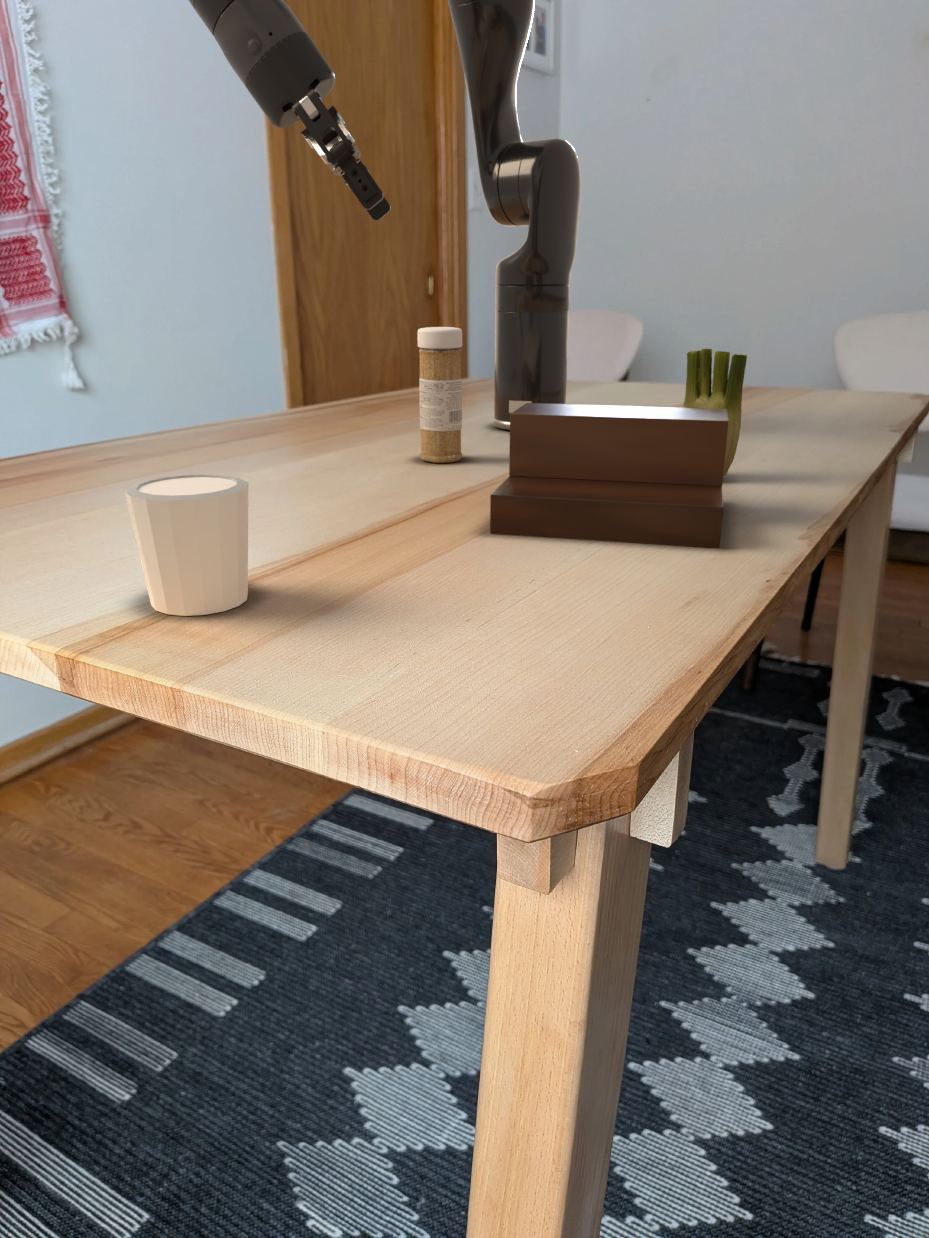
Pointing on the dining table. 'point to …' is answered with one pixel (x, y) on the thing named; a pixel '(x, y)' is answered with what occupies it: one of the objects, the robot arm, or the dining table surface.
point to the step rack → (614, 474)
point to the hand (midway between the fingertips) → (380, 210)
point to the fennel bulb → (717, 390)
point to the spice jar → (440, 393)
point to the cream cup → (192, 541)
